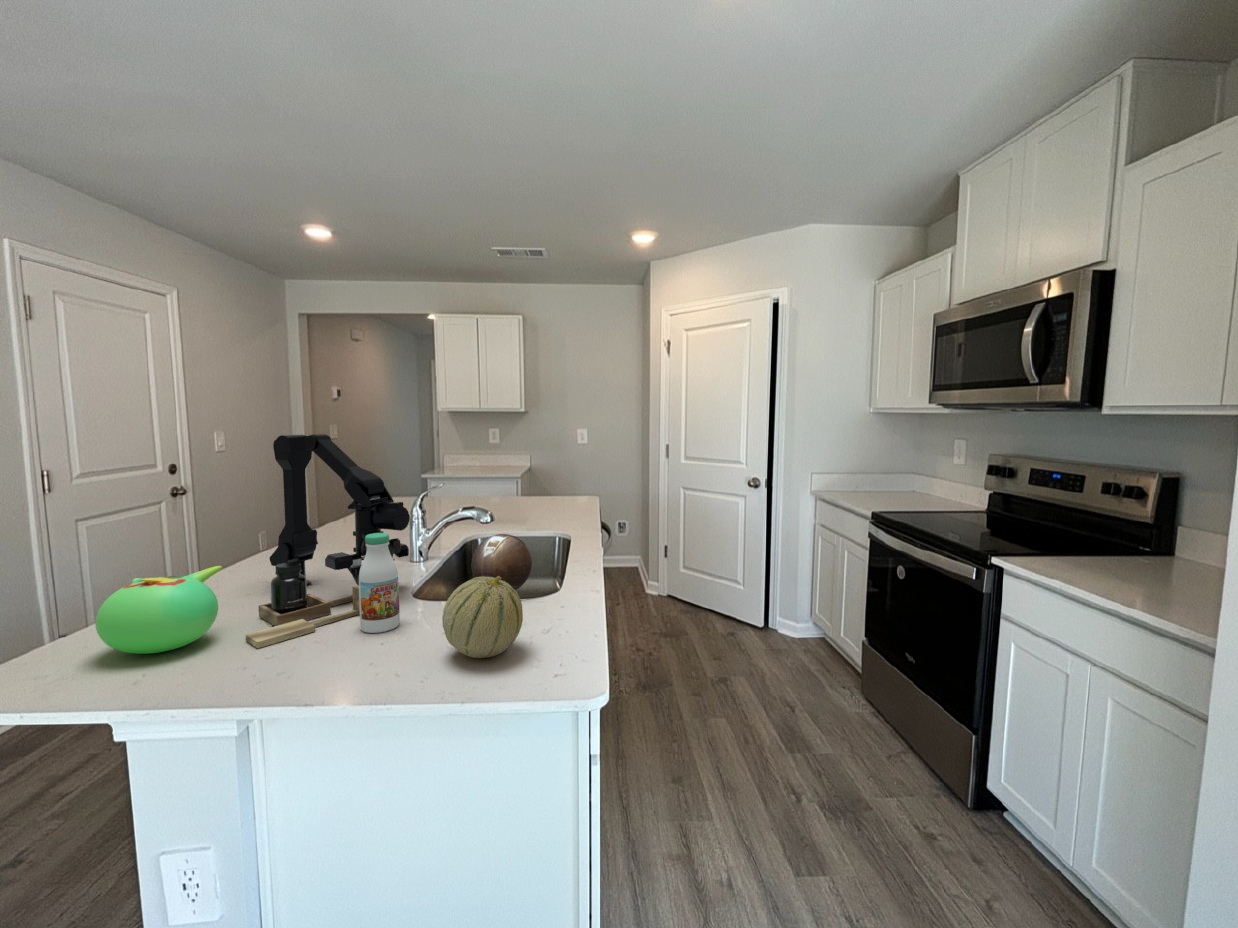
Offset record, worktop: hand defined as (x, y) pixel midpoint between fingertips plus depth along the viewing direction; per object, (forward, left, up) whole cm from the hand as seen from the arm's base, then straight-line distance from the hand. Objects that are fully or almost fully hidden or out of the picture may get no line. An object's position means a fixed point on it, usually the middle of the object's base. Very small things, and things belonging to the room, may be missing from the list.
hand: (369, 589), depth 135 cm
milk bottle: (+21, -9, -2) cm, 23 cm away
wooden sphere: (+24, +22, -2) cm, 33 cm away
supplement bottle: (0, -18, -2) cm, 18 cm away
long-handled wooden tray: (+10, -17, -2) cm, 20 cm away
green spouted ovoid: (-2, -40, -2) cm, 40 cm away
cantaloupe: (+49, -4, -2) cm, 49 cm away
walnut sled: (0, -11, -2) cm, 11 cm away
